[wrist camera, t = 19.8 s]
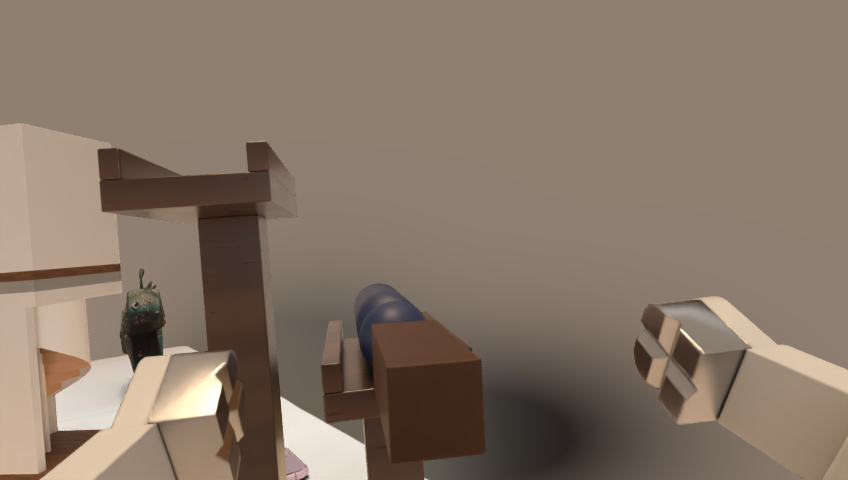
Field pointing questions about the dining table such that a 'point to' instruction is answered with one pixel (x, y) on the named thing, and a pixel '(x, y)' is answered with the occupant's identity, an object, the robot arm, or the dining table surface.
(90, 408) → the dining table surface
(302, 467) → the mobile phone
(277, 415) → the brown wooden display stand
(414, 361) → the brown and blue rod
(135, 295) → the ceramic cat
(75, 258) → the cream lantern
